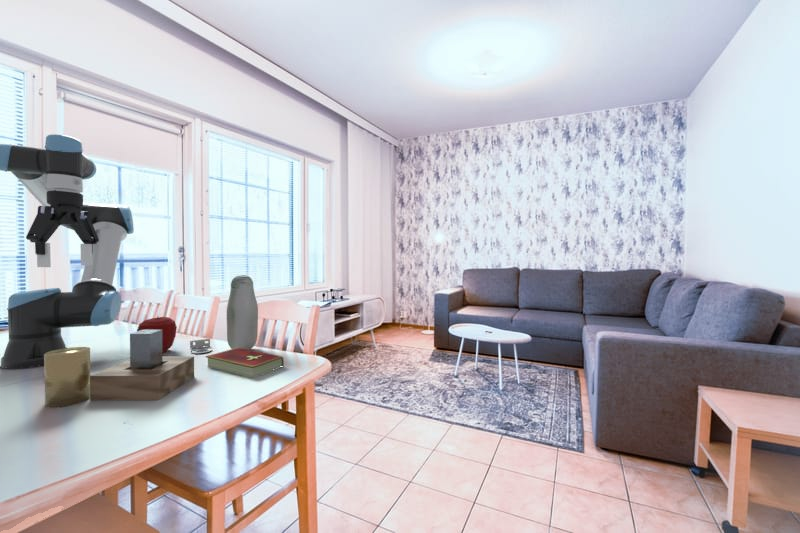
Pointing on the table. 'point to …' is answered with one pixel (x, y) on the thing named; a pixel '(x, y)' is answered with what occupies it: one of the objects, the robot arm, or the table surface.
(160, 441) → the table surface
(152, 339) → the square bit
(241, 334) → the grey rounded tall shape
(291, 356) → the table surface
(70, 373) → the round bit
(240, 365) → the hardcover book
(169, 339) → the apple
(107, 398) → the socket block
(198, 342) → the bracket
